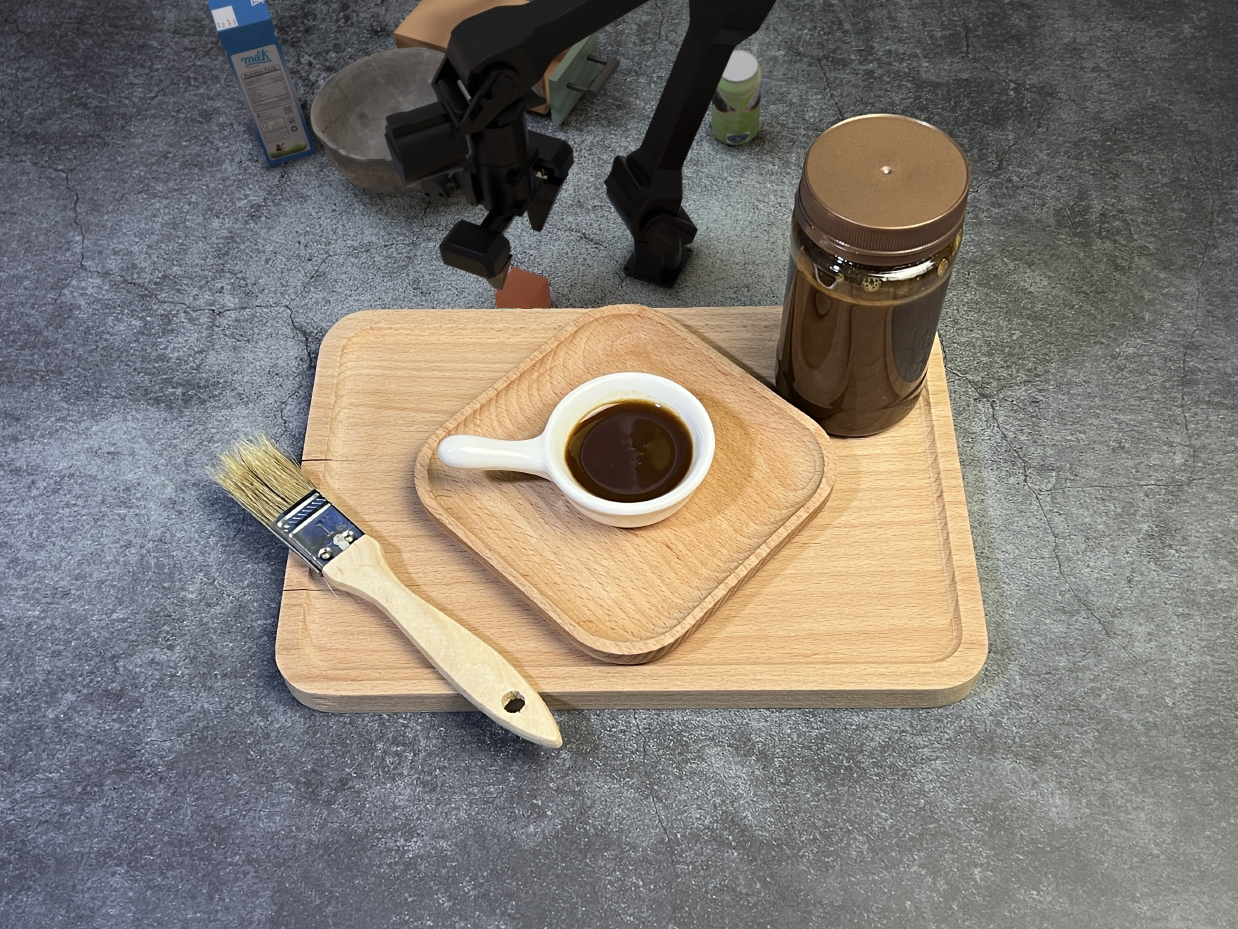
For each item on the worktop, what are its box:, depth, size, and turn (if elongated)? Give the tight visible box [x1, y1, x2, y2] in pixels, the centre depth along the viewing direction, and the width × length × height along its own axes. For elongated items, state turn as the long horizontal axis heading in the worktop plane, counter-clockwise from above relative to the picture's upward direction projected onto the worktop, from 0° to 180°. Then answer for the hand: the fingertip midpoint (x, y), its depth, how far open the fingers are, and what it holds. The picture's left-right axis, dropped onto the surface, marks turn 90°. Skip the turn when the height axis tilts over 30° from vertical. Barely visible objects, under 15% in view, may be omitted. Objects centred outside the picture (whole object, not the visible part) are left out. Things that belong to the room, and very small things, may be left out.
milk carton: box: [206, 0, 317, 168], centre depth 136 cm, size 10×6×20 cm, turn 22°
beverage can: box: [711, 49, 763, 146], centre depth 137 cm, size 6×7×12 cm
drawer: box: [529, 32, 621, 125], centre depth 144 cm, size 18×11×7 cm, turn 65°
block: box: [494, 266, 552, 309], centre depth 125 cm, size 4×4×4 cm
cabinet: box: [393, 0, 531, 54], centre depth 147 cm, size 15×13×9 cm
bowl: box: [310, 47, 471, 196], centre depth 137 cm, size 21×21×10 cm
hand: (517, 258), depth 120 cm, fingers open, 9 cm apart
